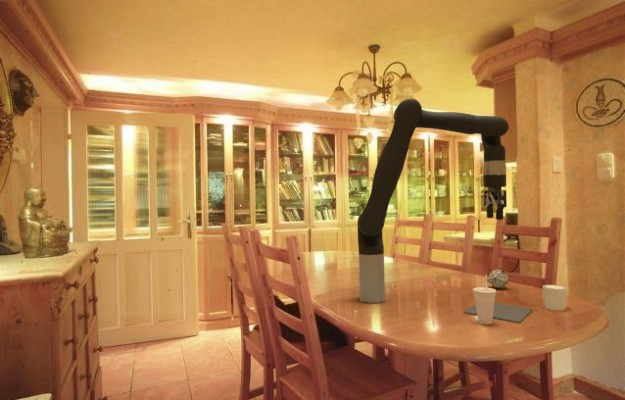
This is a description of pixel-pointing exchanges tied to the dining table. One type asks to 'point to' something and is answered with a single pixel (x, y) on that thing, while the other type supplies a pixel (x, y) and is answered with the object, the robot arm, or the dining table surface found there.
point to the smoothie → (484, 303)
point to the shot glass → (555, 297)
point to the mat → (505, 312)
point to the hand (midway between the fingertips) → (494, 218)
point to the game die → (498, 278)
